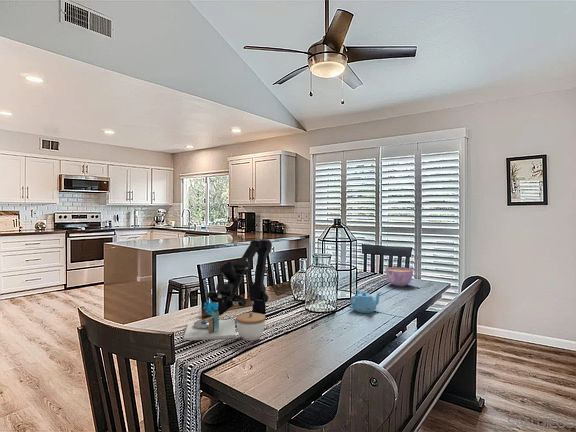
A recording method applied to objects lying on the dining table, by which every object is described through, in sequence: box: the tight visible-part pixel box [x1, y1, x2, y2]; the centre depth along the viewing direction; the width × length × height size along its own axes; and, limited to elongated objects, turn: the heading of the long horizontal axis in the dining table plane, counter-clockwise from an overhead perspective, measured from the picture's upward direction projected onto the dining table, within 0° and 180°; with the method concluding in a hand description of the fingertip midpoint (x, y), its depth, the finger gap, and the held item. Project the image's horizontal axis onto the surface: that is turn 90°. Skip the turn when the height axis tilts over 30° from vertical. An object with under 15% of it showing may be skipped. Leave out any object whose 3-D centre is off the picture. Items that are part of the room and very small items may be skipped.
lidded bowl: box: [235, 311, 266, 342], centre depth 156 cm, size 13×13×11 cm
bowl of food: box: [384, 266, 414, 287], centre depth 262 cm, size 20×20×12 cm
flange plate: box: [194, 310, 220, 332], centre depth 166 cm, size 16×10×9 cm, turn 40°
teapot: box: [349, 288, 382, 314], centre depth 198 cm, size 15×15×10 cm
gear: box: [202, 299, 218, 317], centre depth 192 cm, size 11×6×10 cm
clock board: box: [182, 317, 236, 342], centre depth 165 cm, size 22×22×7 cm
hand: (218, 315), depth 162 cm, fingers closed
